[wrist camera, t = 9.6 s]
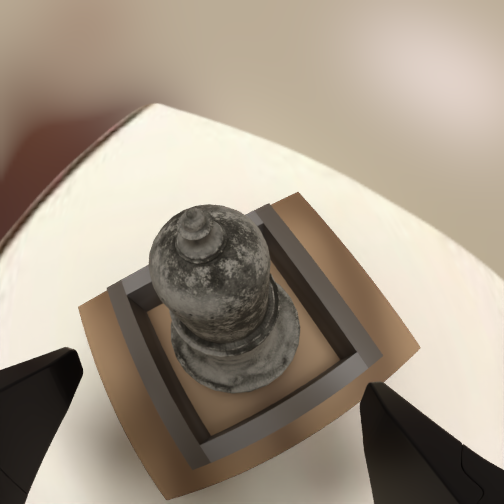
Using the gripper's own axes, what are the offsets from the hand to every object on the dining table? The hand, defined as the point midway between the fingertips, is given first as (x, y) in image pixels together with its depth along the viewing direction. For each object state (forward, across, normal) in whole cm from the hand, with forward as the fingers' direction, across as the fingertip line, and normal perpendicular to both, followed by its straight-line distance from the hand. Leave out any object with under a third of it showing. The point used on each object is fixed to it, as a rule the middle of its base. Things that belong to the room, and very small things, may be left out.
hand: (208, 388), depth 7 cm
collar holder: (+9, 0, +4) cm, 10 cm away
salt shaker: (+8, 0, +4) cm, 8 cm away
